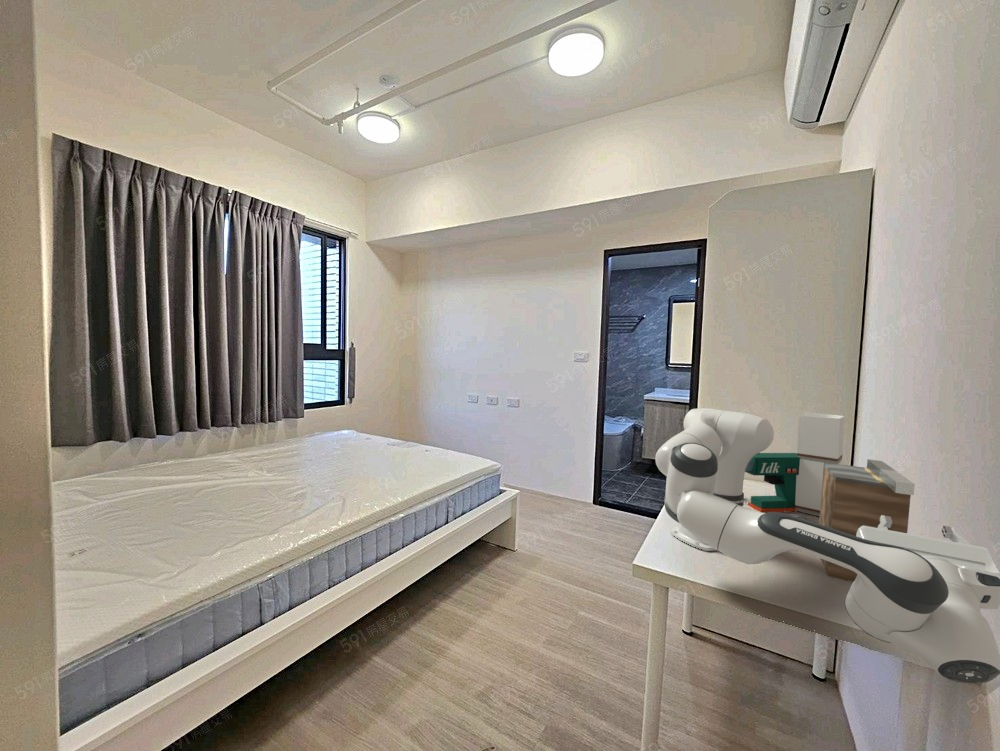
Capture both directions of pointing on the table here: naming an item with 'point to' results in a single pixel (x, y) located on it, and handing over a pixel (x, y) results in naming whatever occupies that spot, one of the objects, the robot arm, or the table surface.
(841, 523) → the stand
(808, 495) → the white cradle pedestal
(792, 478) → the power tool
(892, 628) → the robot arm
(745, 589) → the table surface
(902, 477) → the brushed metal bar
